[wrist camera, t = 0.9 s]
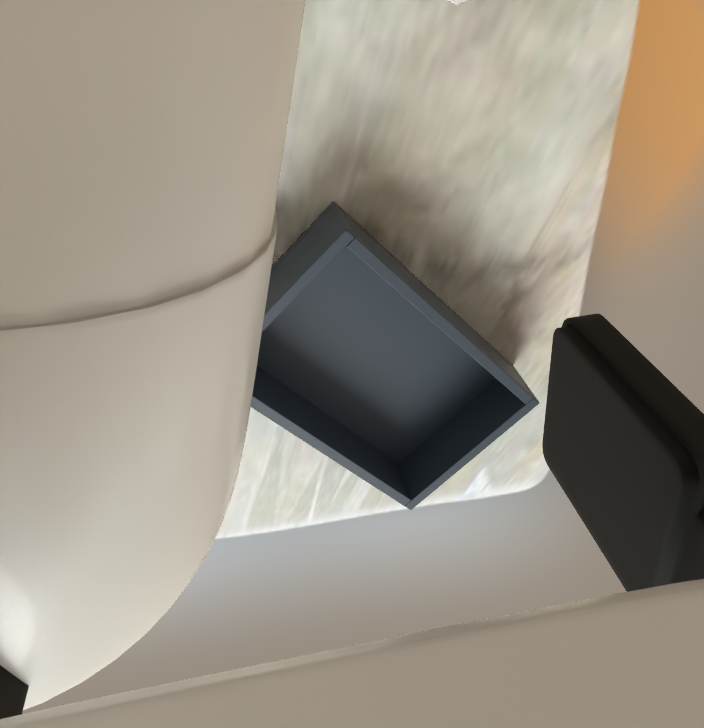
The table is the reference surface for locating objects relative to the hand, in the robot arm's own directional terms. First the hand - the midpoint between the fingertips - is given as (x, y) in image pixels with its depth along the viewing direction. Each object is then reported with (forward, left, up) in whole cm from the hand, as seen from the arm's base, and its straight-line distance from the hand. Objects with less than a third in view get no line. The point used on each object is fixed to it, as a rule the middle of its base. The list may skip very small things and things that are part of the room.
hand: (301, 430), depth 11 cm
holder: (+17, +5, -28) cm, 33 cm away
